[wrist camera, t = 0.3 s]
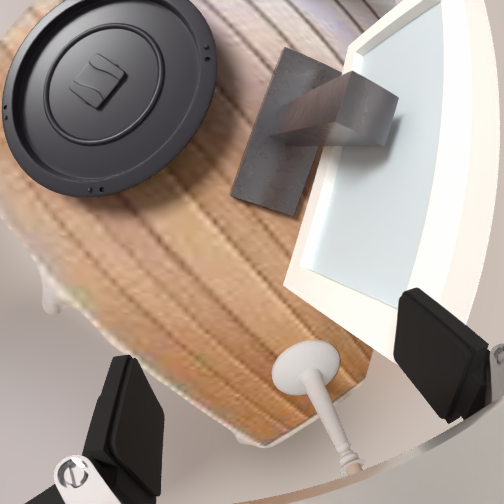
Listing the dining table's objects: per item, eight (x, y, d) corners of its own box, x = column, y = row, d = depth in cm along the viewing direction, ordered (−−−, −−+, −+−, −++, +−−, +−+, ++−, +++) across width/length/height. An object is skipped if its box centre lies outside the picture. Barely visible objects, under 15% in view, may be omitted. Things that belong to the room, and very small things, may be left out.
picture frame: (348, 46, 30) (454, -37, 11) (368, 57, 31) (479, -15, 11) (283, 285, 32) (411, 374, 12) (308, 291, 32) (445, 375, 13)
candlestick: (287, 334, 50) (358, 489, 22) (349, 344, 53) (436, 469, 25) (261, 389, 53) (302, 534, 25) (320, 394, 56) (379, 517, 28)
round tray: (126, 233, 41) (260, 63, 36) (115, 245, 35) (269, 50, 31) (-7, 127, 32) (108, -28, 27) (-29, 127, 26) (99, -46, 21)
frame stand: (282, 50, 36) (355, -29, 14) (339, 75, 38) (446, 31, 16) (229, 194, 41) (259, 243, 20) (290, 214, 43) (371, 277, 22)
